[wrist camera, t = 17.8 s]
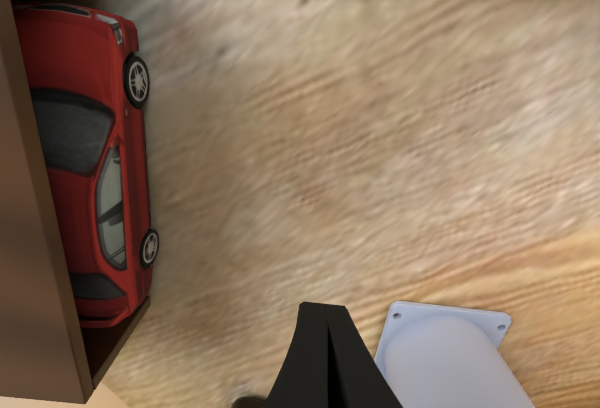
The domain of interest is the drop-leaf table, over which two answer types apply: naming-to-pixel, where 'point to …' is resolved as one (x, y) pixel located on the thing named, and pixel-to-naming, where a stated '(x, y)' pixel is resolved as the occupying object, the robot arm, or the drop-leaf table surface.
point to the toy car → (93, 149)
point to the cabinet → (39, 262)
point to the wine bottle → (248, 403)
